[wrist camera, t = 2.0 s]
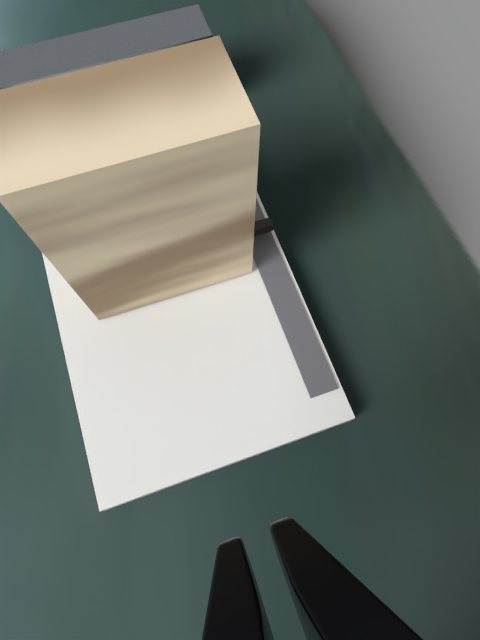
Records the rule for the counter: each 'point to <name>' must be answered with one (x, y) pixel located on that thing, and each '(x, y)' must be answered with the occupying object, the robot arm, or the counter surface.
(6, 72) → the grey rectangular bar
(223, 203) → the block
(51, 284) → the plate
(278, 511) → the counter surface
